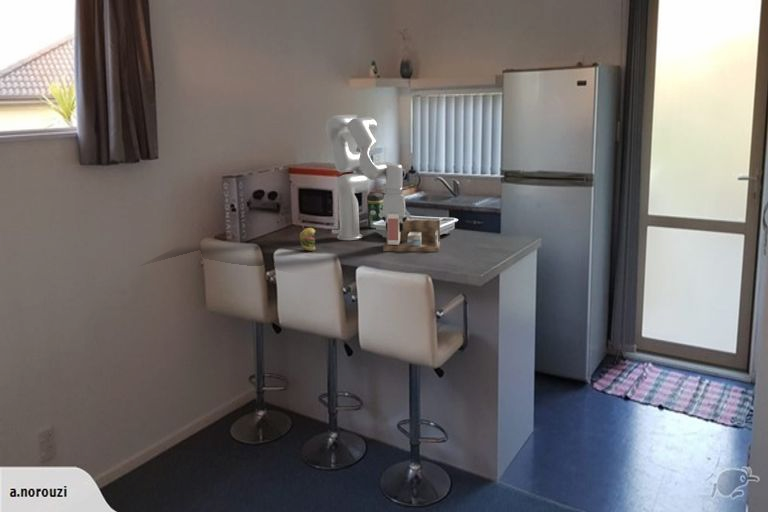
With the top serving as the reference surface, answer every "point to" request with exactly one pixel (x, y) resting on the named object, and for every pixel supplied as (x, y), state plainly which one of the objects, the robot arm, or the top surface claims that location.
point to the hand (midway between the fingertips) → (394, 230)
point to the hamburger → (308, 239)
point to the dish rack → (445, 223)
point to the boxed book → (393, 229)
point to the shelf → (417, 227)
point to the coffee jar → (374, 208)
